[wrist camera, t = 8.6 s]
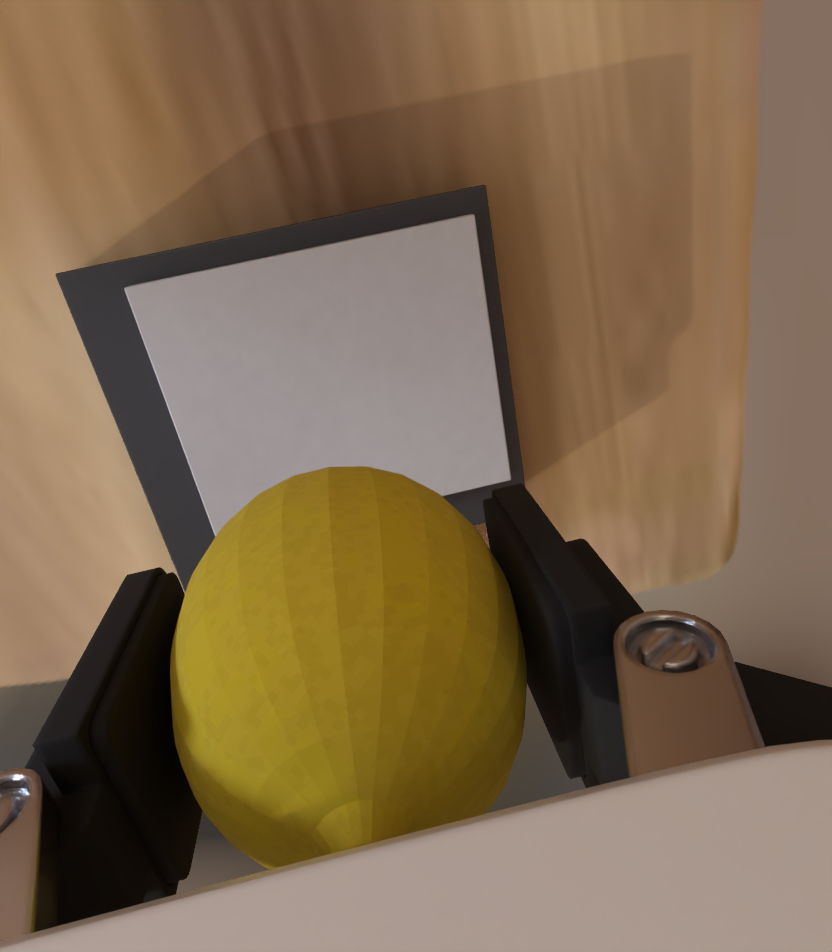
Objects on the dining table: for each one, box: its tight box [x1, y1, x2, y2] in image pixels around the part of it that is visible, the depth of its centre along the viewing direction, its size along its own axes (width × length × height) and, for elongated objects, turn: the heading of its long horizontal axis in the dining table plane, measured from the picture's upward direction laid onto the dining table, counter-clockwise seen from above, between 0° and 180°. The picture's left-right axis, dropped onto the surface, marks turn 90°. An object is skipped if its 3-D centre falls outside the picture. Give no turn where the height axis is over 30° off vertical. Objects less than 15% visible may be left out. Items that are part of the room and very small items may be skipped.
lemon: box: [170, 466, 527, 870], centre depth 10 cm, size 6×6×8 cm
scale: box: [56, 185, 525, 593], centre depth 27 cm, size 16×16×3 cm
